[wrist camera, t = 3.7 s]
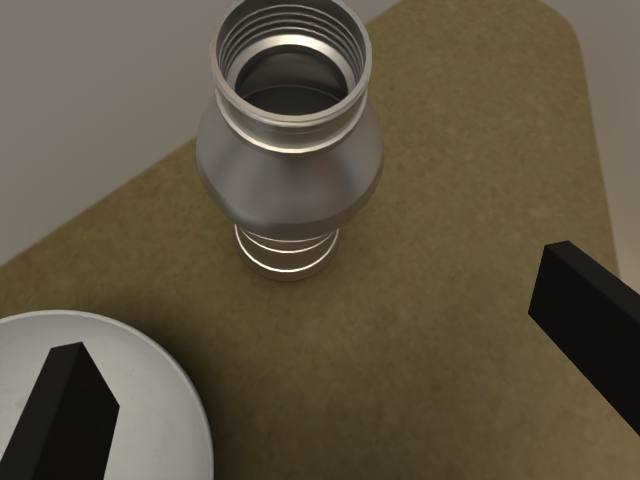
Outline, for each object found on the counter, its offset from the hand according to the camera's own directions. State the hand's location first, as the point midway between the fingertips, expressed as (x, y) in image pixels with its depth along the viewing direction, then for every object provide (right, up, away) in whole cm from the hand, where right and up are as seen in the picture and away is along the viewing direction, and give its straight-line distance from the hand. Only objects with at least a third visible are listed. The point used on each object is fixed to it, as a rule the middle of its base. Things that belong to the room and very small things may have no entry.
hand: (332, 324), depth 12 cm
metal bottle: (-3, +2, +17) cm, 17 cm away
